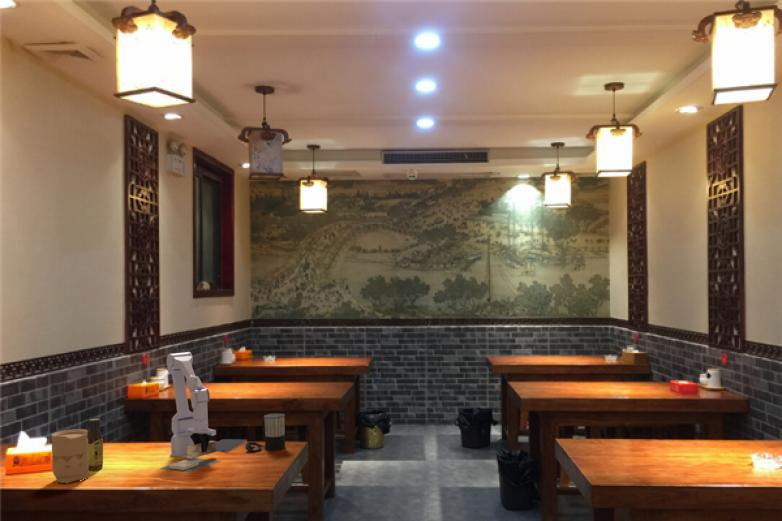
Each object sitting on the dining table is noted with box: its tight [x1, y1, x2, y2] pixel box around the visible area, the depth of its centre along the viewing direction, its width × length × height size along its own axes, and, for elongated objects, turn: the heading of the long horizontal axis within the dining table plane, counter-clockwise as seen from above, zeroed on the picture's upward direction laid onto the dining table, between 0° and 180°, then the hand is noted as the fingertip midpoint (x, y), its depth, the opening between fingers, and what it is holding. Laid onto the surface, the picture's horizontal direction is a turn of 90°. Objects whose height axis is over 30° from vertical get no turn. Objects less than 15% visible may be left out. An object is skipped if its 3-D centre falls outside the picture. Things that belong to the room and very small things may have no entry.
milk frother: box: [245, 413, 287, 453], centre depth 303 cm, size 14×16×15 cm
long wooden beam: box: [186, 440, 217, 459], centre depth 286 cm, size 14×2×4 cm, turn 151°
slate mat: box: [159, 457, 222, 473], centre depth 280 cm, size 16×18×1 cm
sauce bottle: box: [87, 418, 104, 471], centre depth 282 cm, size 7×6×20 cm
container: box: [51, 428, 89, 484], centre depth 267 cm, size 13×13×18 cm
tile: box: [168, 459, 199, 470], centre depth 277 cm, size 2×8×8 cm
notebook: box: [215, 438, 248, 453], centre depth 312 cm, size 13×2×21 cm
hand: (201, 451), depth 285 cm, fingers closed on long wooden beam, 2 cm apart
